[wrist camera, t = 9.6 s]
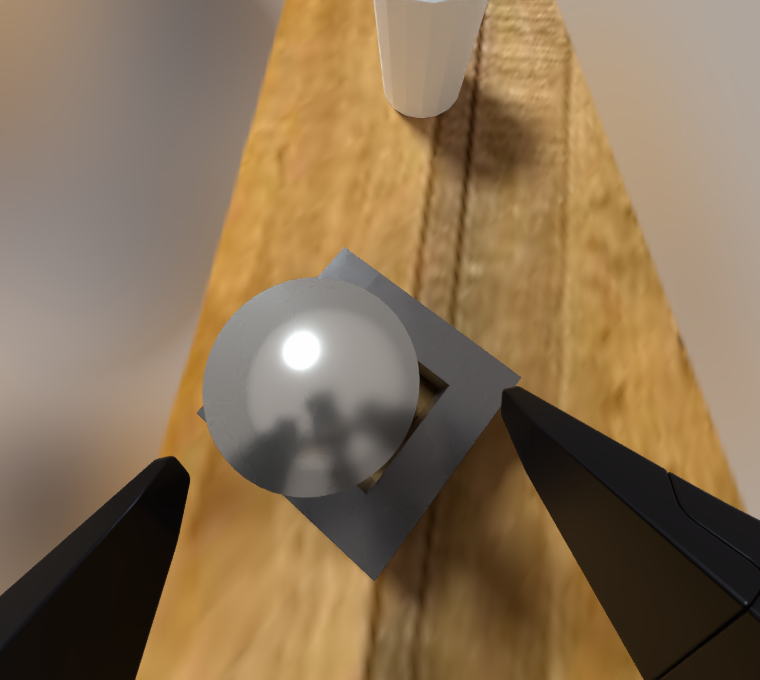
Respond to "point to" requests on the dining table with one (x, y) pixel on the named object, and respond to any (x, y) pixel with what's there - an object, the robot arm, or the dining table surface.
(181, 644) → the dining table surface
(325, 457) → the grey rounded cylinder
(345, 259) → the collar block
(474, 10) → the white cylinder
